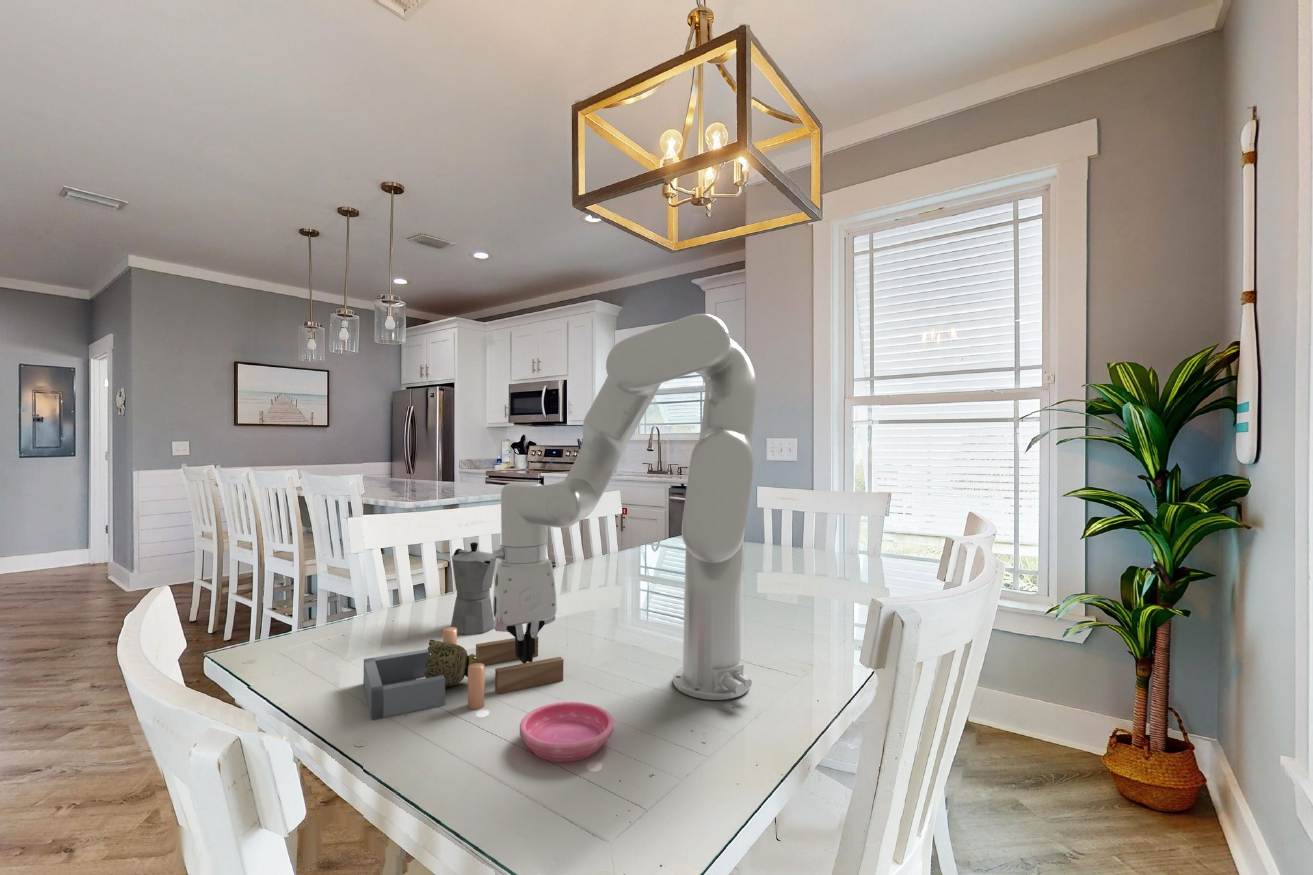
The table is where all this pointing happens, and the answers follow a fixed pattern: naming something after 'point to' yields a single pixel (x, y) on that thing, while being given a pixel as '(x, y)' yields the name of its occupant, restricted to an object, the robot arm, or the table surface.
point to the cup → (448, 662)
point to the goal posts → (470, 674)
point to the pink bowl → (566, 730)
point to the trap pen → (401, 684)
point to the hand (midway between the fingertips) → (525, 659)
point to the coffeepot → (473, 591)
